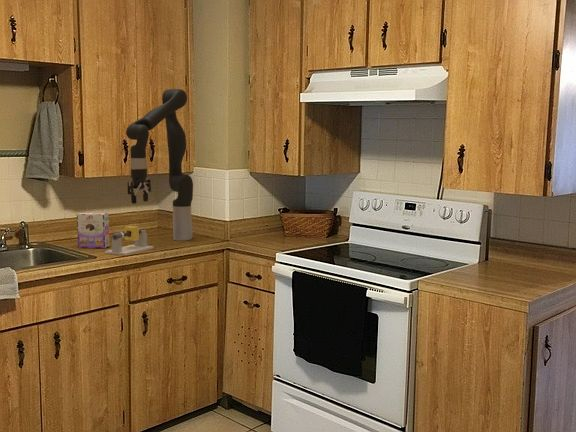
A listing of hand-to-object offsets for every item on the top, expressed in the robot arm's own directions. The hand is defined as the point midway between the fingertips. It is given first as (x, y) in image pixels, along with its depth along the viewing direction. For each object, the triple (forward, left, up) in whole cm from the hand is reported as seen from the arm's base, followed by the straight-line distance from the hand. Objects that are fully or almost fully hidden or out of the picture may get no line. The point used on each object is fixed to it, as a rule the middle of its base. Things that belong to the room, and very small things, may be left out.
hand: (139, 202), depth 324 cm
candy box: (+9, -21, -22) cm, 32 cm away
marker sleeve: (+6, 0, -17) cm, 18 cm away
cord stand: (+8, 0, -22) cm, 23 cm away
